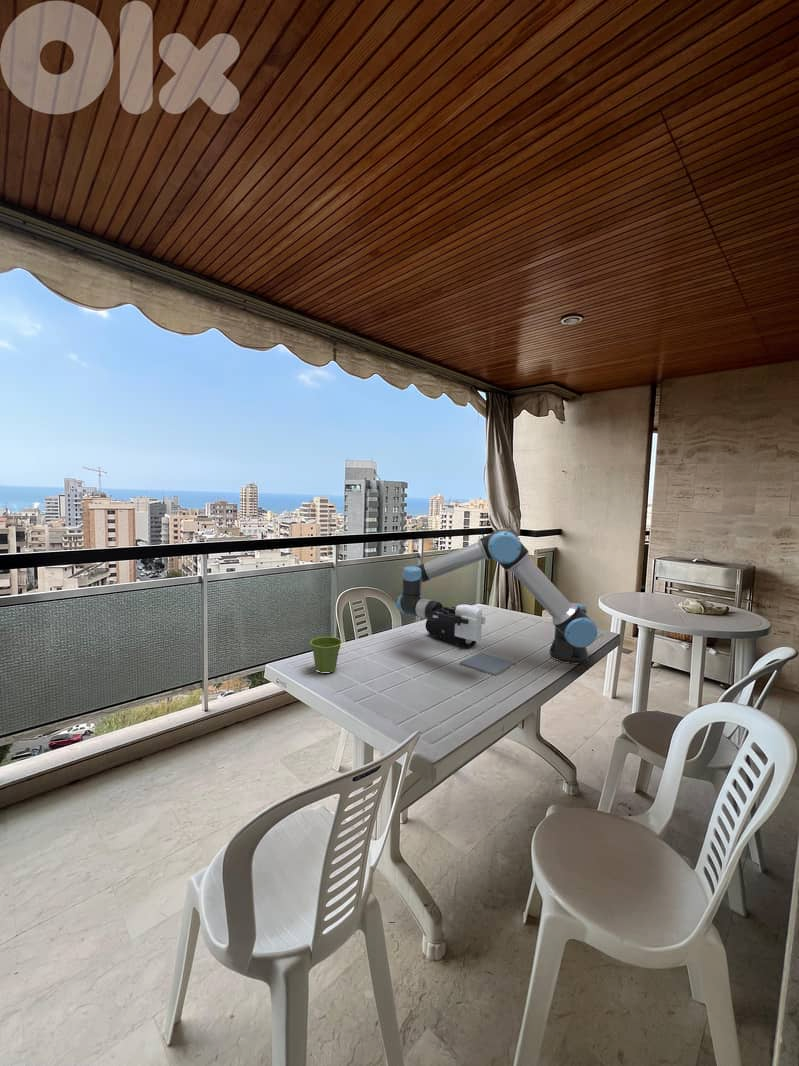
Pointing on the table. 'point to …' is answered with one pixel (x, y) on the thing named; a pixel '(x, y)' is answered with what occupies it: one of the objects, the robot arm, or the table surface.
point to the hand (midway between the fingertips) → (480, 622)
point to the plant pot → (325, 652)
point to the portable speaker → (447, 633)
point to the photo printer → (466, 630)
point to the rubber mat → (487, 663)
